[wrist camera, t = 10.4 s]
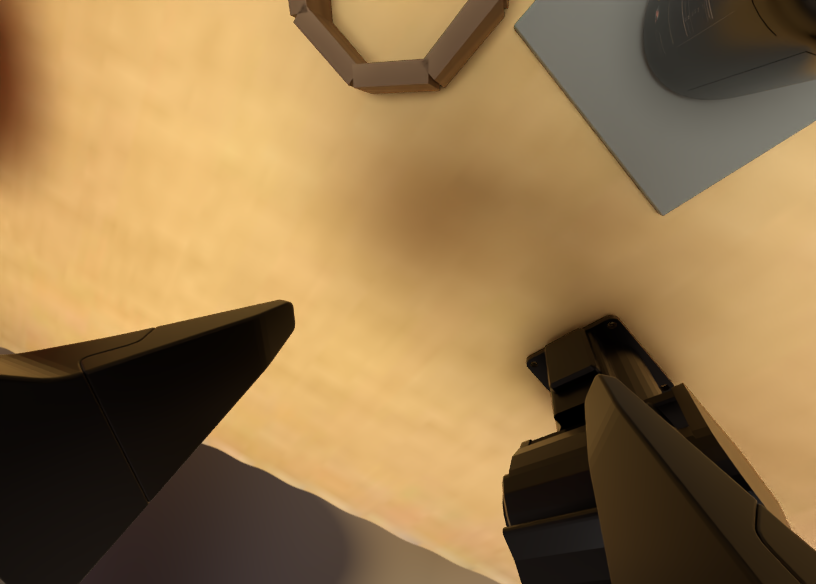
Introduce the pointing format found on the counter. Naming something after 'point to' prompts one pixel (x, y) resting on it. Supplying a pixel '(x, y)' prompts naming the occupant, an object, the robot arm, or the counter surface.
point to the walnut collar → (406, 75)
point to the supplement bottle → (730, 45)
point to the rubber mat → (654, 101)
